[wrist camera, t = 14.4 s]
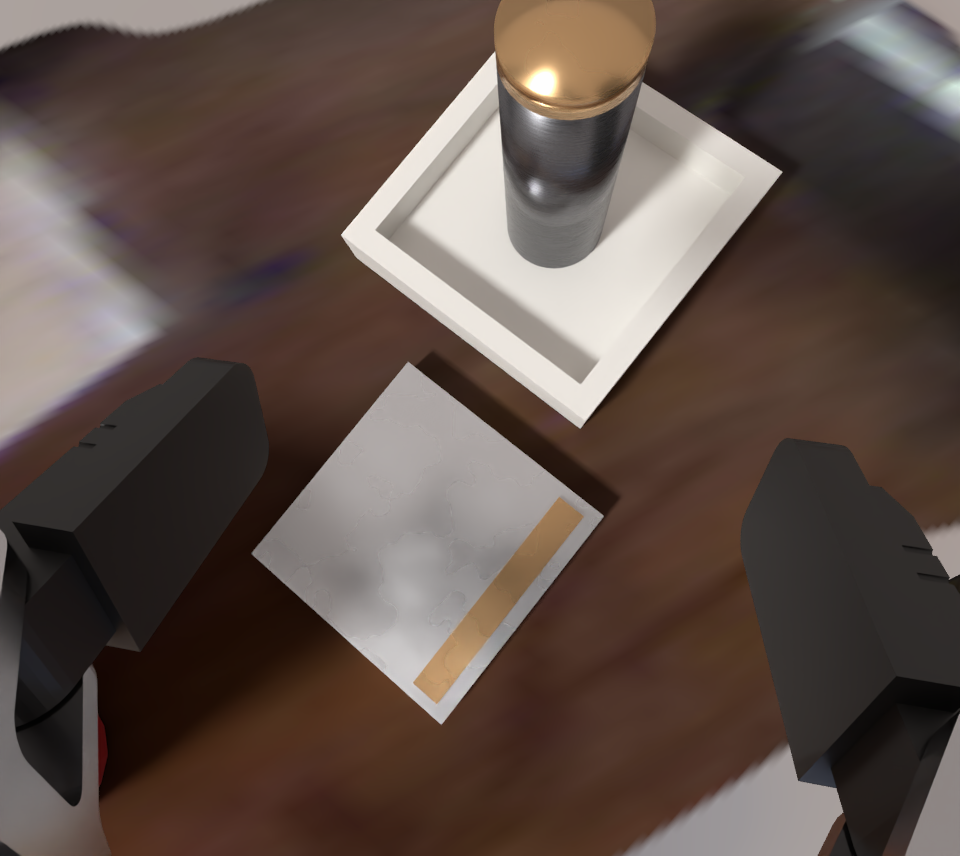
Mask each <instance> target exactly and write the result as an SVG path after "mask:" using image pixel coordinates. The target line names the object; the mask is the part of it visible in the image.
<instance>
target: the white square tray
mask: <svg viewBox="0 0 960 856" xmlns="http://www.w3.org/2000/svg"><path fill="white" fill-rule="evenodd" d="M781 173H782V171H780V170H779V169H777V168H776V167H774V166H773V165H771V164H770V163H768V162H766V161H765V160H763V159H762V158H760V157H759V156H757V155H755V154H754V153H752V152H751V151H749V150H748V149H746V148H745V147H743V146H741V145H740V144H738V143H737V142H735V141H734V140H732V139H731V138H729V137H727V136H726V135H724V134H723V133H721V132H720V131H718V130H716V129H715V128H713V127H712V126H710V125H709V124H707V123H706V122H704V121H702V120H701V119H699V118H698V117H696V116H695V115H693V114H691V113H690V112H688V111H687V110H685V109H684V108H682V107H681V106H679V105H677V104H676V103H674V102H673V101H671V100H670V99H668V98H667V97H665V96H663V95H662V94H660V93H659V92H657V91H656V90H654V89H652V88H651V87H649V86H648V85H646V84H645V83H643V82H642V85H641V89H640V93H639V96H638V100H637V104H636V107H635V111H634V115H633V119H632V122H631V126H630V130H629V133H628V137H627V141H626V145H625V148H624V152H623V156H622V159H621V163H620V167H619V171H618V174H617V178H616V182H615V185H614V189H613V193H612V197H611V200H610V204H609V208H608V212H607V215H606V219H605V223H604V226H603V230H602V234H601V237H600V239H599V242H598V243H597V245H596V247H595V248H594V250H593V251H592V252H591V253H590V254H589V255H588V256H587V257H586V258H584V259H583V260H581V261H580V262H578V263H576V264H574V265H571V266H568V267H563V268H545V267H540V266H537V265H535V264H532V263H530V262H529V261H527V260H526V259H524V258H523V257H522V256H521V255H520V254H519V253H518V252H517V251H516V250H515V248H514V247H513V245H512V243H511V241H510V238H509V235H508V230H507V215H506V200H505V186H504V171H503V156H502V142H501V127H500V113H499V98H498V83H497V69H496V54H495V52H494V53H493V55H492V56H491V57H490V58H489V59H488V61H487V62H486V63H485V64H484V65H483V66H482V68H481V69H480V70H479V71H478V72H477V74H476V75H475V76H474V77H473V78H472V80H471V81H470V82H469V83H468V84H467V86H466V87H465V88H464V89H463V90H462V91H461V93H460V94H459V95H458V96H457V97H456V99H455V100H454V101H453V102H452V103H451V105H450V106H449V107H448V108H447V109H446V111H445V112H444V113H443V114H442V115H441V116H440V118H439V119H438V120H437V121H436V122H435V124H434V125H433V126H432V127H431V128H430V130H429V131H428V132H427V133H426V134H425V136H424V137H423V138H422V139H421V140H420V141H419V143H418V144H417V145H416V146H415V147H414V149H413V150H412V151H411V152H410V153H409V155H408V156H407V157H406V158H405V159H404V161H403V162H402V163H401V164H400V165H399V166H398V168H397V169H396V170H395V171H394V172H393V174H392V175H391V176H390V177H389V178H388V180H387V181H386V182H385V183H384V184H383V186H382V187H381V188H380V189H379V190H378V191H377V193H376V194H375V195H374V196H373V197H372V199H371V200H370V201H369V202H368V203H367V205H366V206H365V207H364V208H363V209H362V211H361V212H360V213H359V214H358V215H357V217H356V218H355V219H354V220H353V221H352V222H351V224H350V225H349V226H348V227H347V228H346V230H345V231H344V232H343V233H342V234H341V236H342V237H343V239H344V240H345V241H346V243H347V244H348V246H349V247H350V249H351V250H352V252H353V253H354V255H355V256H356V257H357V258H358V259H359V260H360V261H361V262H363V263H364V264H365V265H367V266H368V267H369V268H371V269H372V270H373V271H375V272H376V273H377V274H378V275H380V276H381V277H382V278H384V279H385V280H386V281H388V282H389V283H390V284H392V285H393V286H394V287H395V288H397V289H398V290H399V291H401V292H402V293H403V294H405V295H406V296H407V297H409V298H410V299H411V300H412V301H414V302H415V303H416V304H418V305H419V306H420V307H422V308H423V309H424V310H426V311H427V312H428V313H429V314H431V315H432V316H433V317H435V318H436V319H437V320H439V321H440V322H441V323H443V324H444V325H445V326H446V327H448V328H449V329H450V330H452V331H453V332H454V333H456V334H457V335H458V336H460V337H461V338H462V339H463V340H465V341H466V342H467V343H469V344H470V345H471V346H473V347H474V348H475V349H477V350H478V351H479V352H480V353H482V354H483V355H484V356H486V357H487V358H488V359H490V360H491V361H492V362H494V363H495V364H496V365H497V366H499V367H500V368H501V369H503V370H504V371H505V372H507V373H508V374H509V375H511V376H512V377H513V378H514V379H516V380H517V381H518V382H520V383H521V384H522V385H524V386H525V387H526V388H528V389H529V390H530V391H531V392H533V393H534V394H535V395H537V396H538V397H539V398H541V399H542V400H543V401H545V402H546V403H547V404H548V405H550V406H551V407H552V408H554V409H555V410H556V411H558V412H559V413H560V414H562V415H563V416H564V417H565V418H567V419H568V420H569V421H571V422H572V423H573V424H575V425H576V426H577V427H579V428H580V429H581V427H582V426H583V425H584V424H585V422H586V421H587V420H588V418H589V417H590V416H591V415H592V413H593V412H594V411H595V410H596V408H597V407H598V406H599V405H600V403H601V402H602V401H603V399H604V398H605V397H606V396H607V394H608V393H609V392H610V391H611V389H612V388H613V387H614V386H615V384H616V383H617V382H618V381H619V379H620V378H621V377H622V375H623V374H624V373H625V372H626V370H627V369H628V368H629V367H630V365H631V364H632V363H633V362H634V360H635V359H636V358H637V356H638V355H639V354H640V353H641V351H642V350H643V349H644V348H645V346H646V345H647V344H648V343H649V341H650V340H651V339H652V338H653V336H654V335H655V334H656V332H657V331H658V330H659V329H660V327H661V326H662V325H663V324H664V322H665V321H666V320H667V319H668V317H669V316H670V315H671V314H672V312H673V311H674V310H675V308H676V307H677V306H678V305H679V303H680V302H681V301H682V300H683V298H684V297H685V296H686V295H687V293H688V292H689V291H690V289H691V288H692V287H693V286H694V284H695V283H696V282H697V281H698V279H699V278H700V277H701V276H702V274H703V273H704V272H705V271H706V269H707V268H708V267H709V265H710V264H711V263H712V262H713V260H714V259H715V258H716V257H717V255H718V254H719V253H720V252H721V250H722V249H723V248H724V246H725V245H726V244H727V243H728V241H729V240H730V239H731V238H732V236H733V235H734V234H735V233H736V231H737V230H738V229H739V228H740V226H741V225H742V224H743V222H744V221H745V220H746V219H747V217H748V216H749V215H750V214H751V212H752V211H753V210H754V209H755V207H756V206H757V205H758V203H759V202H760V201H761V200H762V198H763V197H764V196H765V194H766V193H767V192H768V190H769V189H770V188H771V186H772V185H773V184H774V183H775V181H776V180H777V179H778V177H779V176H780V175H781Z"/></svg>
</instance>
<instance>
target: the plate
mask: <svg viewBox="0 0 960 856" xmlns="http://www.w3.org/2000/svg"><path fill="white" fill-rule="evenodd" d="M603 517H604V516H603V515H602V514H601V513H599V512H598V511H597V510H596V509H594V508H593V507H592V506H591V505H589V504H588V503H587V502H585V501H584V500H583V499H582V498H580V497H579V496H578V495H577V494H575V493H574V492H573V491H572V490H570V489H569V488H568V487H566V486H565V485H564V484H563V483H561V482H560V481H559V480H558V479H556V478H555V477H554V476H552V475H551V474H550V473H549V472H547V471H546V470H545V469H544V468H542V467H541V466H540V465H538V464H537V463H536V462H535V461H533V460H532V459H531V458H530V457H528V456H527V455H526V454H524V453H523V452H522V451H521V450H519V449H518V448H517V447H516V446H514V445H513V444H512V443H510V442H509V441H508V440H507V439H505V438H504V437H503V436H502V435H500V434H499V433H498V432H496V431H495V430H494V429H493V428H491V427H490V426H489V425H488V424H486V423H485V422H484V421H483V420H481V419H480V418H479V417H477V416H476V415H475V414H474V413H472V412H471V411H470V410H469V409H467V408H466V407H465V406H463V405H462V404H461V403H460V402H458V401H457V400H456V399H455V398H453V397H452V396H451V395H449V394H448V393H447V392H446V391H444V390H443V389H442V388H441V387H439V386H438V385H437V384H435V383H434V382H433V381H432V380H430V379H429V378H428V377H427V376H425V375H424V374H423V373H421V372H420V371H419V370H418V369H416V368H415V367H414V366H413V365H411V364H410V363H409V362H408V363H407V364H406V365H405V366H404V368H403V369H402V370H401V371H400V372H399V374H398V375H397V376H396V377H395V379H394V380H393V381H392V382H391V383H390V385H389V386H388V387H387V388H386V390H385V391H384V392H383V393H382V394H381V396H380V397H379V398H378V399H377V401H376V402H375V403H374V404H373V405H372V407H371V408H370V409H369V410H368V412H367V413H366V414H365V415H364V416H363V418H362V419H361V420H360V421H359V423H358V424H357V425H356V426H355V427H354V429H353V430H352V431H351V432H350V434H349V435H348V436H347V437H346V438H345V440H344V441H343V442H342V443H341V445H340V446H339V447H338V448H337V449H336V451H335V452H334V453H333V454H332V456H331V457H330V458H329V459H328V460H327V462H326V463H325V464H324V465H323V467H322V468H321V469H320V470H319V471H318V473H317V474H316V475H315V476H314V478H313V479H312V480H311V481H310V482H309V484H308V485H307V486H306V487H305V489H304V490H303V491H302V492H301V493H300V495H299V496H298V497H297V498H296V500H295V501H294V502H293V503H292V504H291V506H290V507H289V508H288V509H287V511H286V512H285V513H284V514H283V515H282V517H281V518H280V519H279V520H278V522H277V523H276V524H275V525H274V526H273V528H272V529H271V530H270V531H269V533H268V534H267V535H266V536H265V537H264V539H263V540H262V541H261V542H260V543H259V545H258V546H257V547H256V548H255V550H254V551H253V552H252V553H251V554H252V555H253V556H254V557H255V558H257V559H258V560H259V561H260V562H261V563H262V564H263V565H264V566H265V567H267V568H268V569H269V570H270V571H271V572H272V573H273V574H274V575H275V576H277V577H278V578H279V579H280V580H281V581H282V582H283V583H284V584H285V585H287V586H288V587H289V588H290V589H291V590H292V591H293V592H294V593H295V594H297V595H298V596H299V597H300V598H301V599H302V600H303V601H304V602H305V603H307V604H308V605H309V606H310V607H311V608H312V609H313V610H314V611H315V612H317V613H318V614H319V615H320V616H321V617H322V618H323V619H324V620H325V621H327V622H328V623H329V624H330V625H331V626H332V627H333V628H334V629H335V630H337V631H338V632H339V633H340V634H341V635H342V636H343V637H344V638H345V639H347V640H348V641H349V642H350V643H351V644H352V645H353V646H354V647H355V648H357V649H358V650H359V651H360V652H361V653H362V654H363V655H364V656H366V657H367V658H368V659H369V660H370V661H371V662H372V663H373V664H374V665H376V666H377V667H378V668H379V669H380V670H381V671H382V672H383V673H384V674H386V675H387V676H388V677H389V678H390V679H391V680H392V681H393V682H394V683H396V684H397V685H398V686H399V687H400V688H401V689H402V690H403V691H404V692H406V693H407V694H408V695H409V696H410V697H411V698H412V699H413V700H414V701H416V702H417V703H418V704H419V705H420V706H421V707H422V708H423V709H424V710H426V711H427V712H428V713H429V714H430V715H431V716H432V717H433V718H434V719H436V720H437V721H438V722H439V723H440V724H441V725H442V723H443V722H444V721H445V719H446V718H447V717H448V716H449V714H450V713H451V712H452V710H453V709H454V708H455V707H456V705H457V704H458V703H459V702H460V700H461V699H462V698H463V696H464V695H465V694H466V693H467V691H468V690H469V689H470V687H471V686H472V685H473V684H474V682H475V681H476V680H477V678H478V677H479V676H480V675H481V673H482V672H483V671H484V669H485V668H486V667H487V666H488V664H489V663H490V662H491V660H492V659H493V658H494V657H495V655H496V654H497V653H498V651H499V650H500V649H501V648H502V646H503V645H504V644H505V643H506V641H507V640H508V639H509V637H510V636H511V635H512V634H513V632H514V631H515V630H516V628H517V627H518V626H519V625H520V623H521V622H522V621H523V619H524V618H525V617H526V616H527V614H528V613H529V612H530V610H531V609H532V608H533V607H534V605H535V604H536V603H537V601H538V600H539V599H540V598H541V596H542V595H543V594H544V593H545V591H546V590H547V589H548V587H549V586H550V585H551V584H552V582H553V581H554V580H555V578H556V577H557V576H558V575H559V573H560V572H561V571H562V569H563V568H564V567H565V566H566V564H567V563H568V562H569V560H570V559H571V558H572V557H573V555H574V554H575V553H576V551H577V550H578V549H579V548H580V546H581V545H582V544H583V542H584V541H585V540H586V539H587V537H588V536H589V535H590V534H591V532H592V531H593V530H594V528H595V527H596V526H597V525H598V523H599V522H600V521H601V519H602V518H603Z"/></svg>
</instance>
